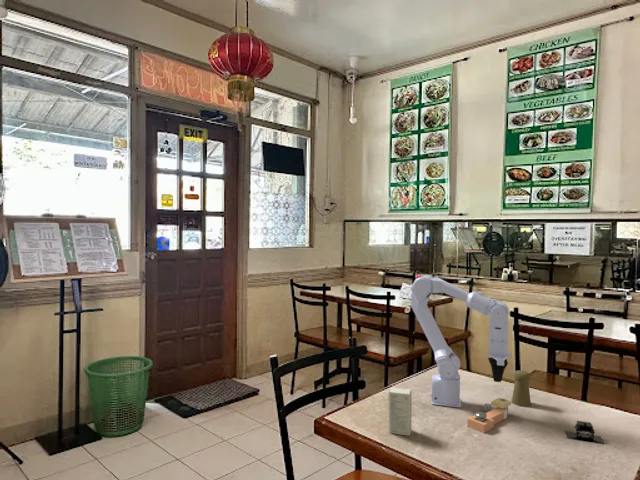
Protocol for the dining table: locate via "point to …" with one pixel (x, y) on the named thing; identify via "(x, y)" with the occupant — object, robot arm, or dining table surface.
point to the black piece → (584, 436)
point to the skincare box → (400, 411)
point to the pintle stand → (488, 407)
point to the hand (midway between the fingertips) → (497, 381)
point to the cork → (521, 389)
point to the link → (488, 420)
